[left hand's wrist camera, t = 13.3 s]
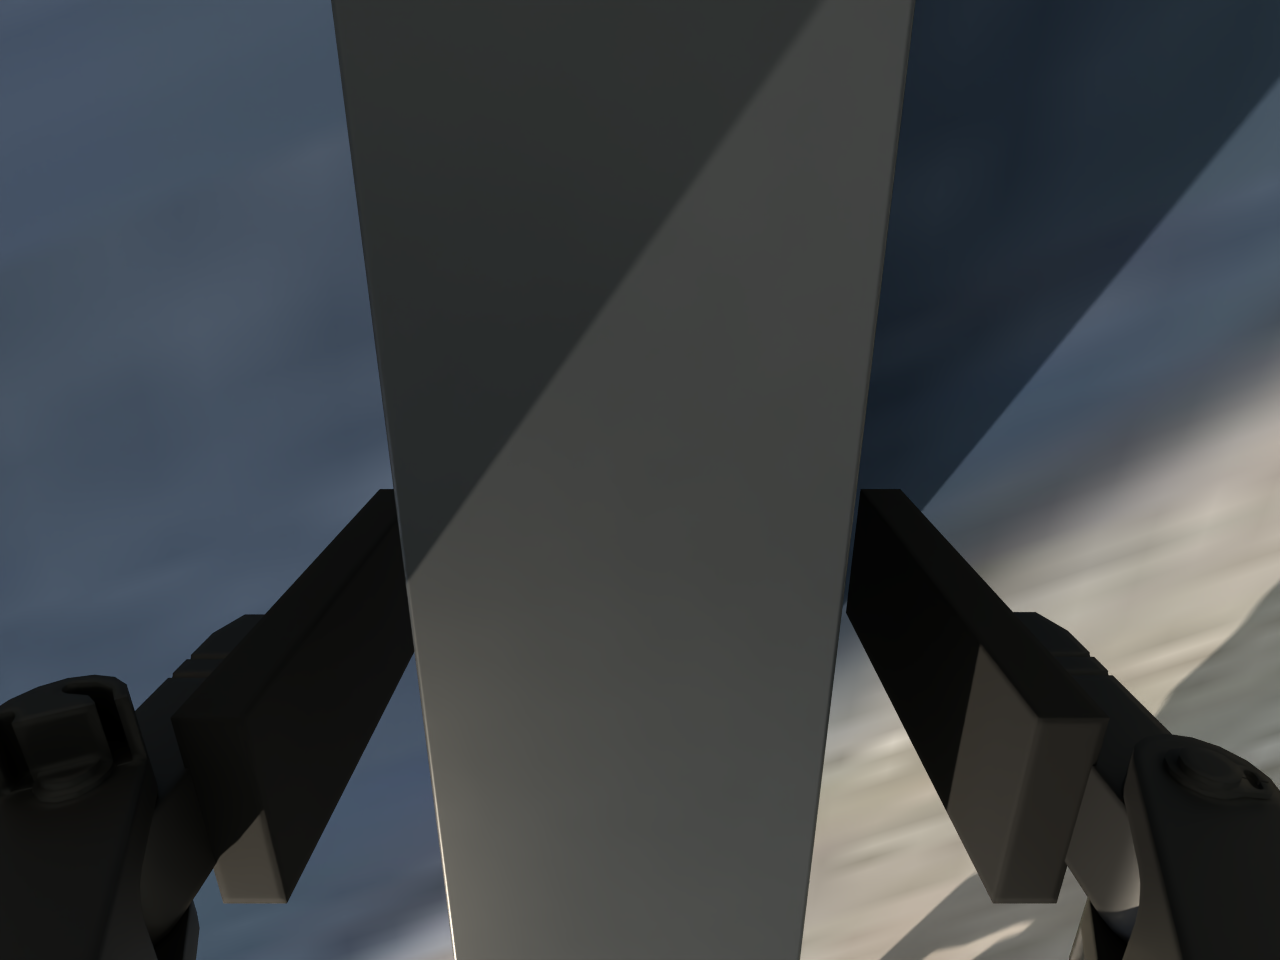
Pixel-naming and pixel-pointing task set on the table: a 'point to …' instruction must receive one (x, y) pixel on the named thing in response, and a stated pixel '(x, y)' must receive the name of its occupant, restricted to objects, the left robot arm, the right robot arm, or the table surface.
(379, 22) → the beam
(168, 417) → the table surface
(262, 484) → the table surface
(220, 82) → the table surface
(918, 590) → the left robot arm
